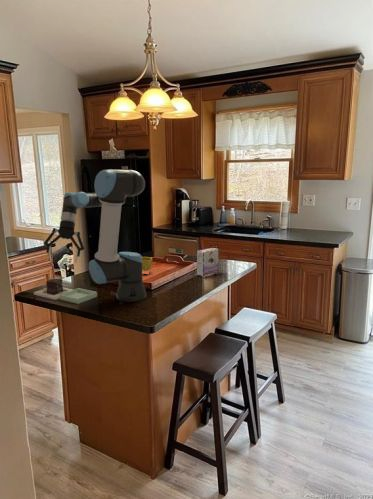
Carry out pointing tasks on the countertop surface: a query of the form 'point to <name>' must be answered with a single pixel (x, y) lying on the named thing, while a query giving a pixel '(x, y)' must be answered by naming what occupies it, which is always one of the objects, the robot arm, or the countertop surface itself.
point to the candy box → (207, 261)
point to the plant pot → (146, 263)
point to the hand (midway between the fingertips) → (62, 260)
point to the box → (54, 286)
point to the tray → (78, 295)
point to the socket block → (44, 294)
